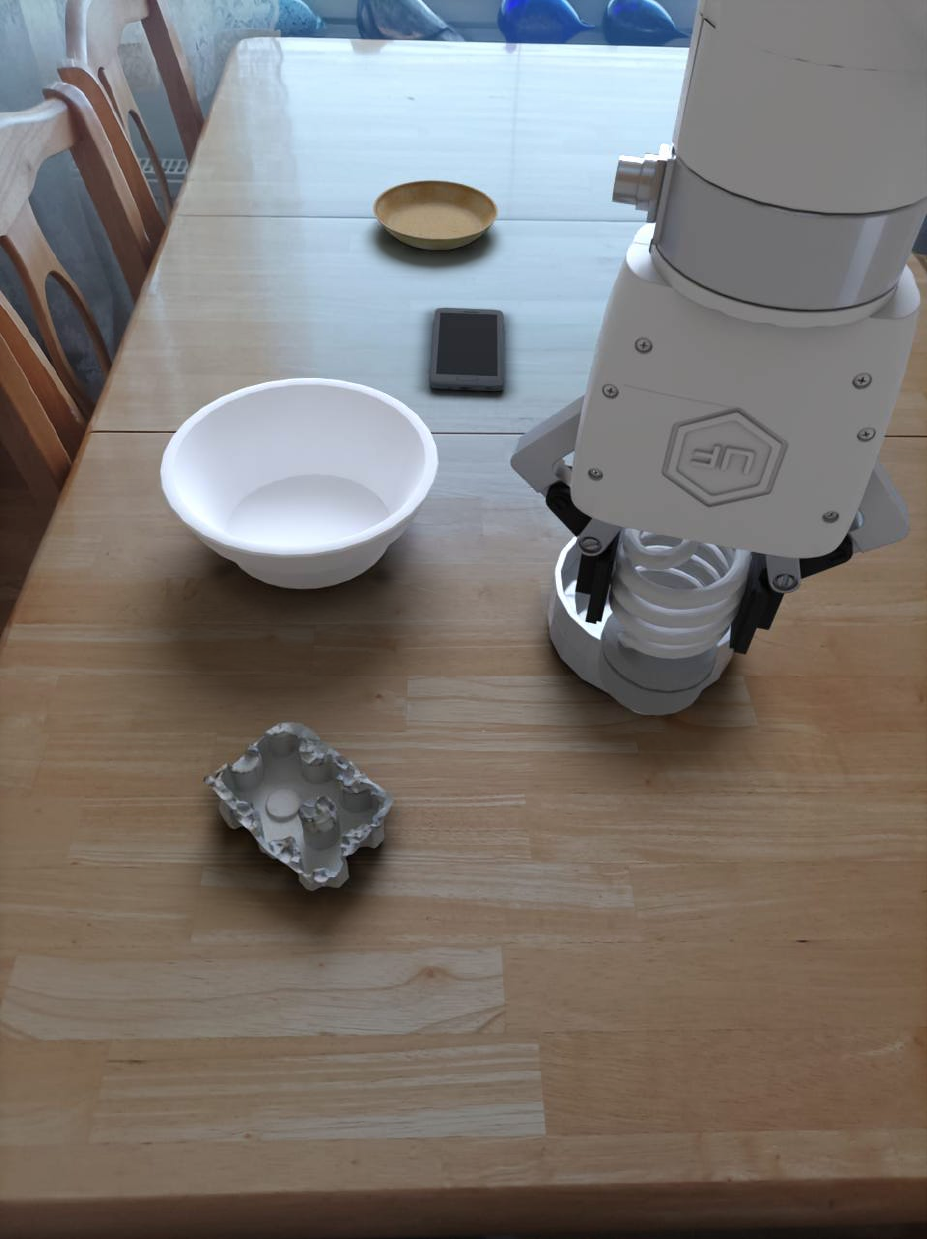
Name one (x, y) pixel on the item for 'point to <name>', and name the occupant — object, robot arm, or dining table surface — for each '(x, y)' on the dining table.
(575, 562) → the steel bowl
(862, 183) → the robot arm
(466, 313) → the cell phone
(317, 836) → the egg carton
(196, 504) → the bowl
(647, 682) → the light bulb
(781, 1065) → the dining table surface
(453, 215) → the plant saucer
